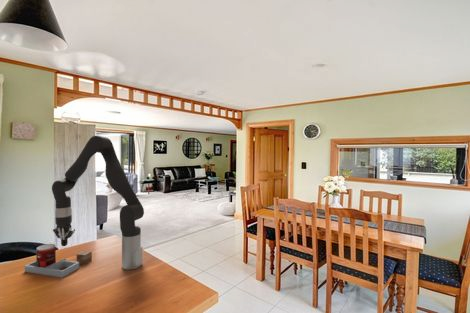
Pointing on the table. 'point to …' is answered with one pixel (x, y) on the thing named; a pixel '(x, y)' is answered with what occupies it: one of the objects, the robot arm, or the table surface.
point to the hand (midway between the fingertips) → (64, 245)
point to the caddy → (53, 268)
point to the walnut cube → (84, 257)
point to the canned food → (46, 255)
